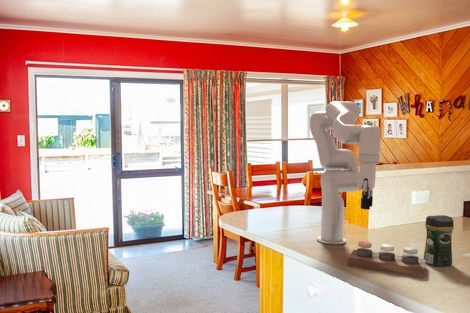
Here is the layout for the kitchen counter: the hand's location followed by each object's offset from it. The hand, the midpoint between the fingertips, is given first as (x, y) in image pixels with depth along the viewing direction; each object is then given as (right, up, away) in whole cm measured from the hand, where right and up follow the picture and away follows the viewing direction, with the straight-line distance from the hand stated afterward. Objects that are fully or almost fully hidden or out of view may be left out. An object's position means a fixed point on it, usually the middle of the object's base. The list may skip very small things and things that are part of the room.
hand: (366, 207), depth 165 cm
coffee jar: (+28, -22, +3) cm, 36 cm away
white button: (+7, -15, -2) cm, 17 cm away
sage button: (+14, -16, -6) cm, 22 cm away
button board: (+7, -22, -2) cm, 23 cm away
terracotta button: (0, -15, +1) cm, 15 cm away
